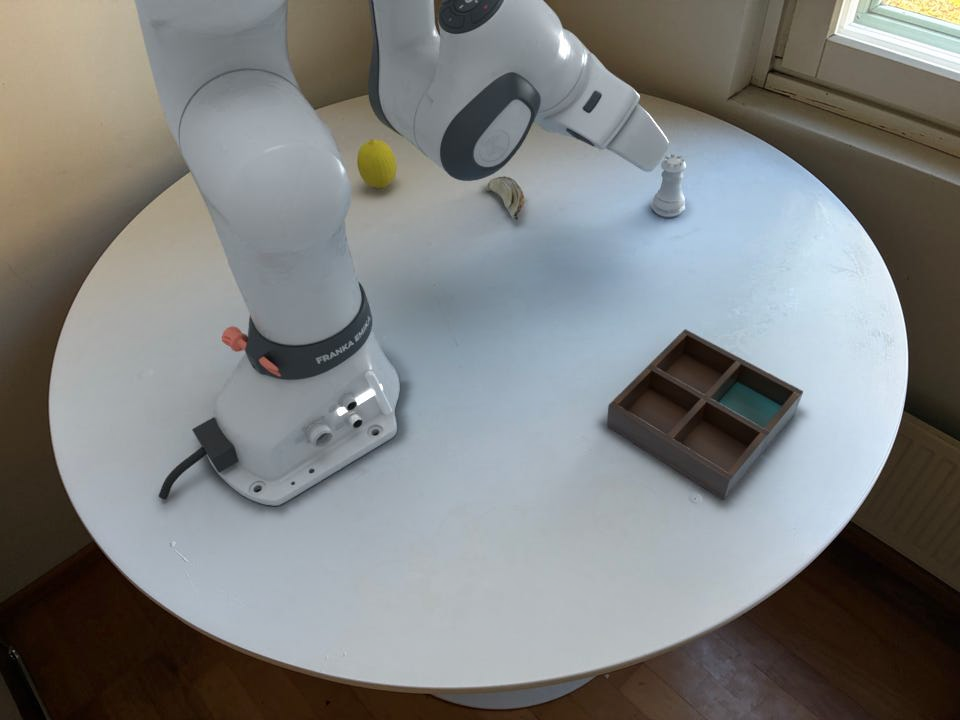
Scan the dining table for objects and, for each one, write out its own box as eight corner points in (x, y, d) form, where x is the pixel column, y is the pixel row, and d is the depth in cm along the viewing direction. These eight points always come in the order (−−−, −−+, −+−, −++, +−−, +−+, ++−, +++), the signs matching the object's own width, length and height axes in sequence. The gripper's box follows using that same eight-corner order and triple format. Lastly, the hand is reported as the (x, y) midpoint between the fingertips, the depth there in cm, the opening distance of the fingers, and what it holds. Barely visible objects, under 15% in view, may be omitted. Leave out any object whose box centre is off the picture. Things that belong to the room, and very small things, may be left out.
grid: (723, 500, 75) (729, 480, 72) (606, 426, 82) (608, 405, 79) (795, 412, 81) (803, 391, 78) (681, 350, 88) (685, 328, 85)
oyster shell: (498, 223, 113) (532, 222, 104) (477, 216, 111) (509, 214, 102) (509, 183, 113) (544, 179, 104) (487, 175, 111) (520, 170, 102)
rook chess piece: (684, 220, 103) (691, 169, 97) (650, 218, 104) (655, 167, 98) (685, 200, 106) (692, 149, 100) (652, 198, 107) (657, 148, 101)
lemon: (407, 182, 114) (399, 135, 108) (385, 202, 111) (375, 155, 105) (378, 172, 116) (368, 125, 110) (355, 192, 113) (344, 145, 107)
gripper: (484, 77, 86) (547, 131, 97) (607, 151, 74) (663, 204, 85) (516, 27, 85) (576, 88, 96) (647, 95, 73) (699, 155, 84)
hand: (618, 143), depth 90 cm, fingers open, 8 cm apart
